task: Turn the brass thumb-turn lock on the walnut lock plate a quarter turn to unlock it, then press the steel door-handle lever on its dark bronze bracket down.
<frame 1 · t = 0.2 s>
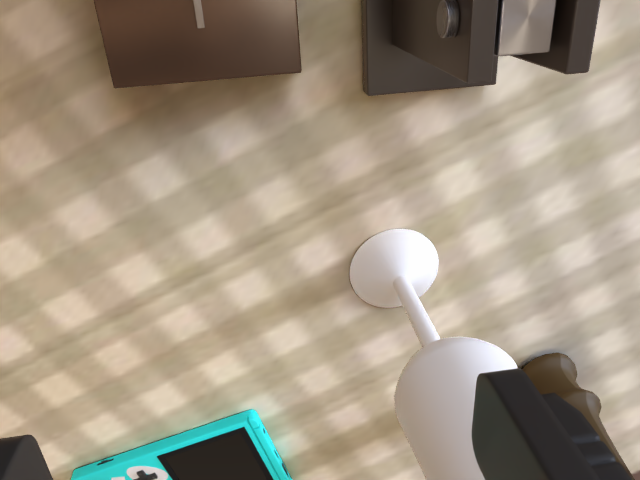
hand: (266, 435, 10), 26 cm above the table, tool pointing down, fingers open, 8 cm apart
champagne flute: (393, 268, 40), on the table
handheld game console: (187, 473, 46), on the table
kendama: (541, 371, 46), on the table
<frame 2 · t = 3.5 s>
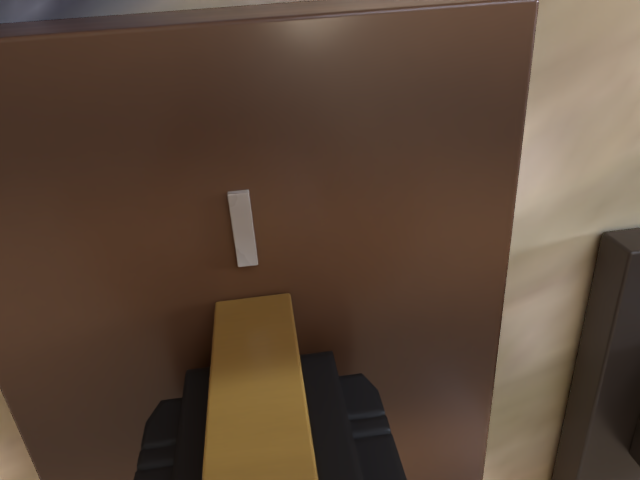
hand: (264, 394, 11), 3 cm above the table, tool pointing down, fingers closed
lock plate: (260, 305, 14), on the table
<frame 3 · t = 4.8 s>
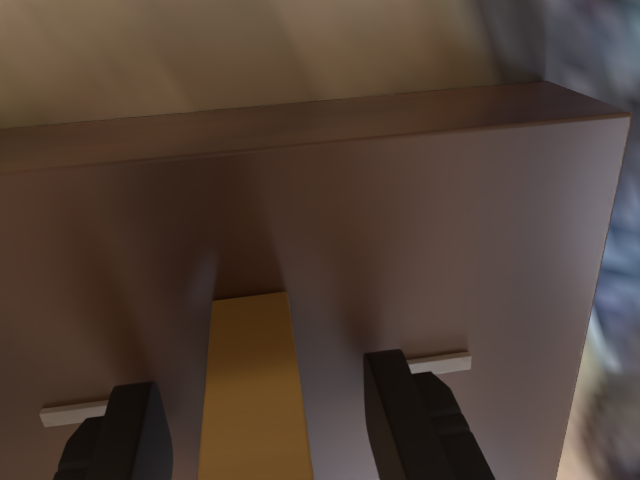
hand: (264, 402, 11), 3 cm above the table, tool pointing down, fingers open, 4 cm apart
lock plate: (259, 304, 14), on the table
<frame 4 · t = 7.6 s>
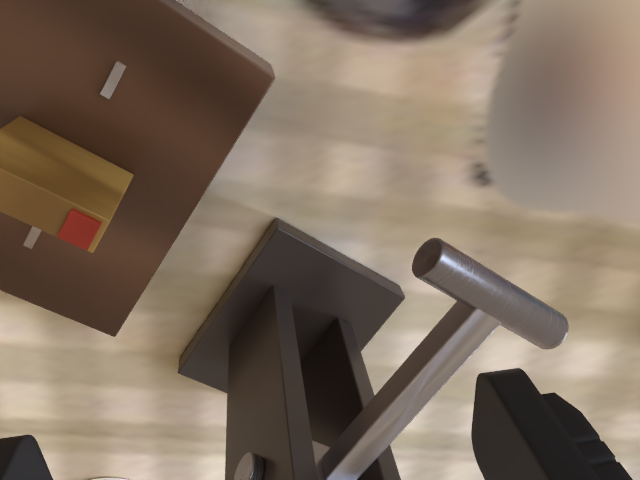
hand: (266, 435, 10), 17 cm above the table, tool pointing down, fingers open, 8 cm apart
lock plate: (91, 138, 24), on the table
handle bracket: (289, 322, 30), on the table
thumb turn: (53, 182, 19), point 5 cm above the table, hinge at 90.6°
door handle: (389, 412, 18), point 11 cm above the table, hinge at 0.0°
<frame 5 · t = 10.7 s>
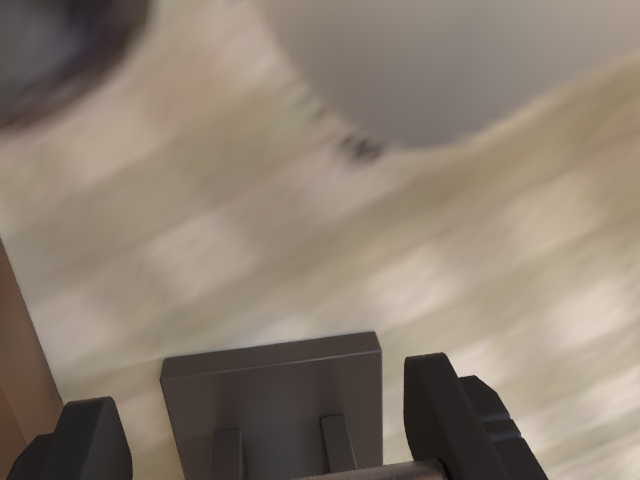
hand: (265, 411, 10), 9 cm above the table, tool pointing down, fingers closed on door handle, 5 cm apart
handle bracket: (283, 438, 23), on the table
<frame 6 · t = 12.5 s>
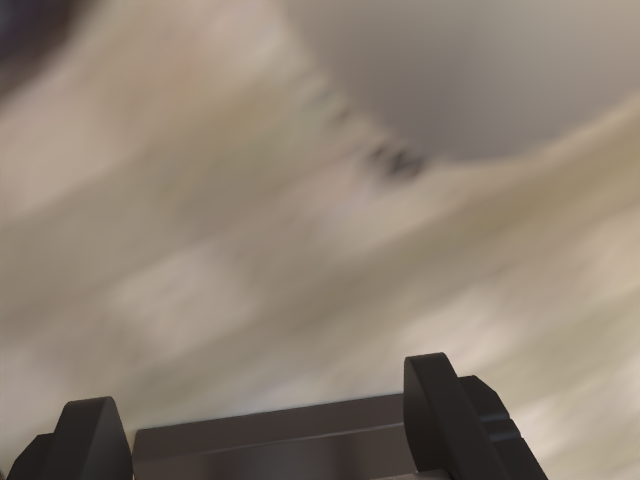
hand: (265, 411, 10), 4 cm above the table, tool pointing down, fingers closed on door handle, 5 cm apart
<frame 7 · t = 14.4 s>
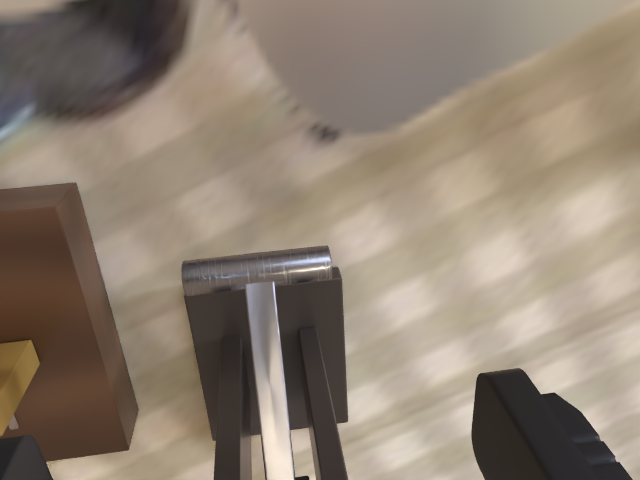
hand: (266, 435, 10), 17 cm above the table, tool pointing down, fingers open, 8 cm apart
lock plate: (11, 320, 28), on the table
handle bracket: (272, 351, 30), on the table
door handle: (273, 409, 21), point 9 cm above the table, hinge at -25.0°
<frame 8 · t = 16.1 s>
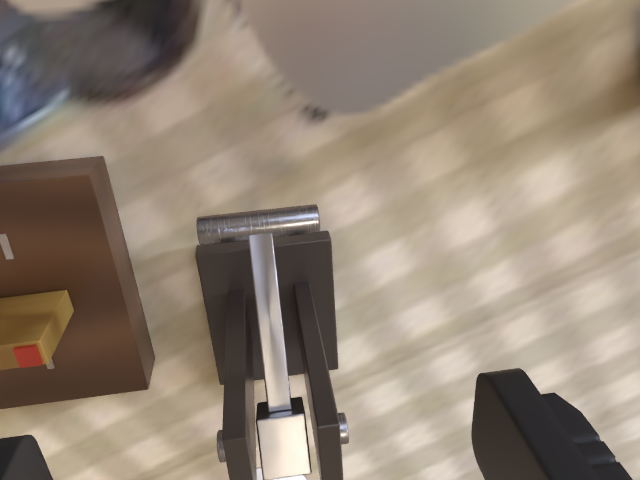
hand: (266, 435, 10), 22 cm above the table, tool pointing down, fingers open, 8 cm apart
lock plate: (46, 276, 32), on the table
handle bracket: (271, 305, 35), on the table
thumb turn: (12, 331, 27), point 5 cm above the table, hinge at 90.6°
door handle: (272, 339, 25), point 9 cm above the table, hinge at -25.0°
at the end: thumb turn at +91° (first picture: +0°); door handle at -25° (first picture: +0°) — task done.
